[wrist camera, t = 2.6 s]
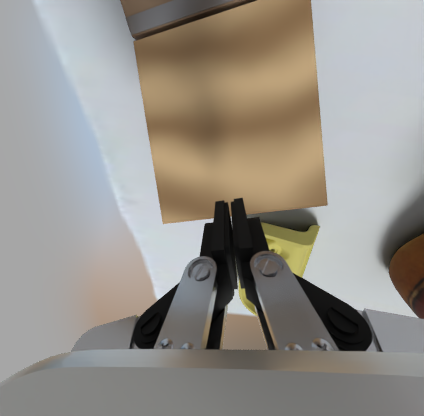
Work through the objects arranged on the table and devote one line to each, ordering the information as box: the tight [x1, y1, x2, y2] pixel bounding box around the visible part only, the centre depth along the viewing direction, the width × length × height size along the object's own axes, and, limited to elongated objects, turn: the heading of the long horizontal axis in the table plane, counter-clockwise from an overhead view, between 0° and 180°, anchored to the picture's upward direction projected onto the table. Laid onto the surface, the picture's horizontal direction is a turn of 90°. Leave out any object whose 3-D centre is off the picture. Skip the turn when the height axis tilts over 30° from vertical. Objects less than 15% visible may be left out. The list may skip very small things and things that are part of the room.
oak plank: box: [134, 0, 327, 224], centre depth 14 cm, size 16×14×2 cm
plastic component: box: [239, 222, 320, 316], centre depth 29 cm, size 20×7×10 cm
